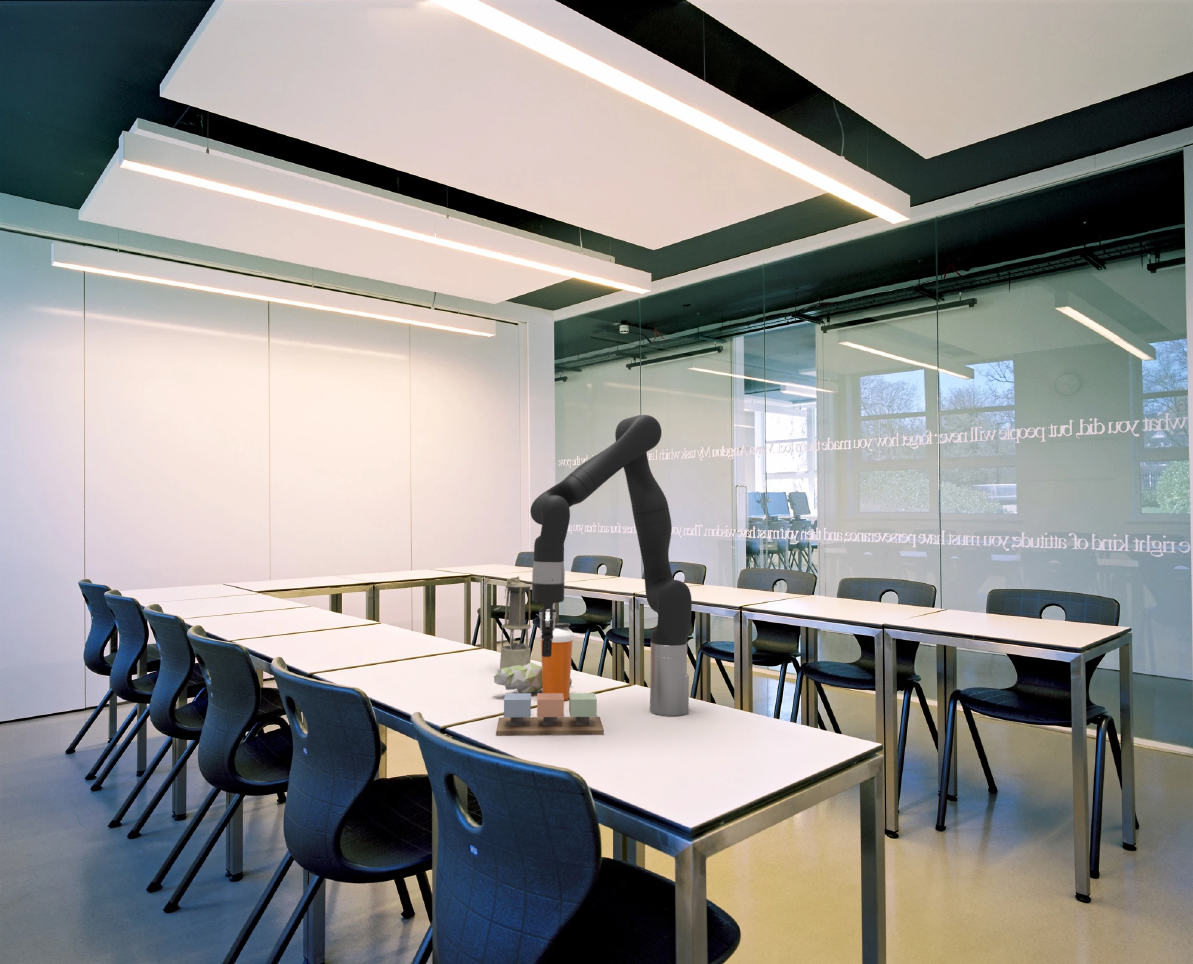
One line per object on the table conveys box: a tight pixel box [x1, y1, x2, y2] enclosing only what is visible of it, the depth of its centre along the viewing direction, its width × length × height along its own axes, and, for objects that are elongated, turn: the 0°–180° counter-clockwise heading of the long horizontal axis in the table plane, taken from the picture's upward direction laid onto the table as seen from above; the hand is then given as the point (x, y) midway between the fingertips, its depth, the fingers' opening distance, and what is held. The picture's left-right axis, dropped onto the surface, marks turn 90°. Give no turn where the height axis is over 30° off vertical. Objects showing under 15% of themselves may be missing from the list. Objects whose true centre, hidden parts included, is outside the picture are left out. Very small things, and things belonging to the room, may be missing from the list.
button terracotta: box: [536, 692, 565, 717], centre depth 169 cm, size 6×6×4 cm
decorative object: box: [493, 662, 573, 694], centre depth 202 cm, size 9×10×25 cm
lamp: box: [493, 576, 532, 673], centre depth 226 cm, size 10×13×30 cm
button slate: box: [503, 692, 532, 717], centre depth 168 cm, size 6×6×4 cm
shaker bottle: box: [539, 622, 574, 702], centre depth 196 cm, size 9×9×20 cm
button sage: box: [568, 692, 598, 717], centre depth 169 cm, size 6×6×4 cm
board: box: [495, 716, 605, 737], centre depth 168 cm, size 24×11×3 cm, turn 95°
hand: (546, 656), depth 169 cm, fingers closed
